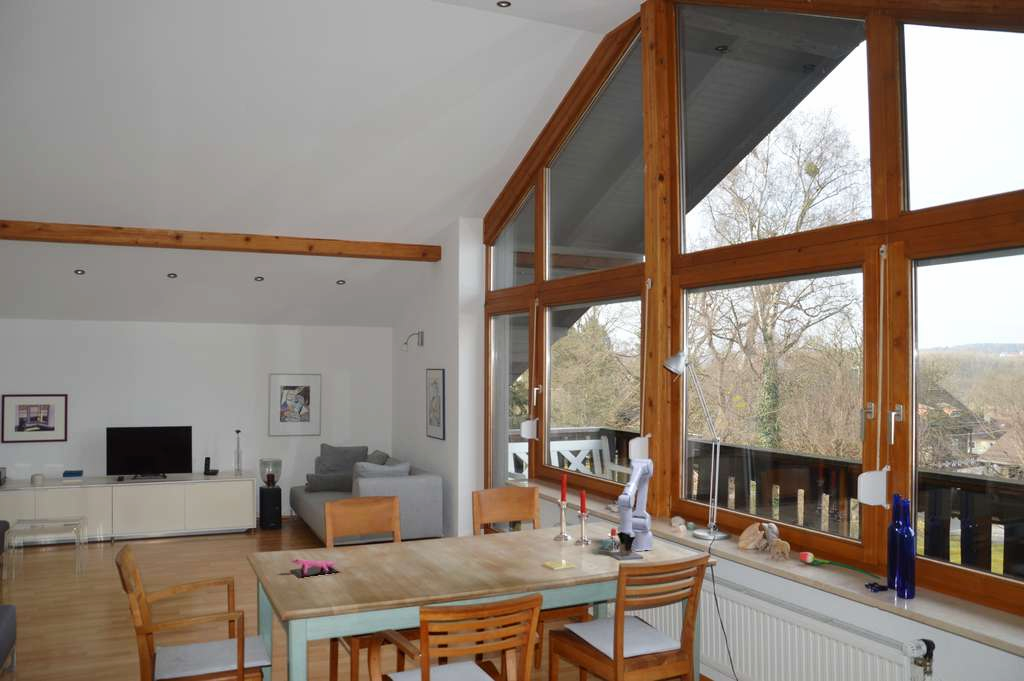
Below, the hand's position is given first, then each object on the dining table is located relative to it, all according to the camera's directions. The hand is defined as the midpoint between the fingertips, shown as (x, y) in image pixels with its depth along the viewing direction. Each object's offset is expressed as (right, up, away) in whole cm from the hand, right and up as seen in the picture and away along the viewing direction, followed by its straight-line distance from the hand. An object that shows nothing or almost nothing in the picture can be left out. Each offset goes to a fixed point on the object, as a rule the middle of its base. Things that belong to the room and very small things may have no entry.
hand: (625, 549), depth 389 cm
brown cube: (0, -2, 0) cm, 2 cm away
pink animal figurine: (-139, -3, -33) cm, 143 cm away
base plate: (0, -3, 0) cm, 3 cm away
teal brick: (-6, -4, +17) cm, 18 cm away
